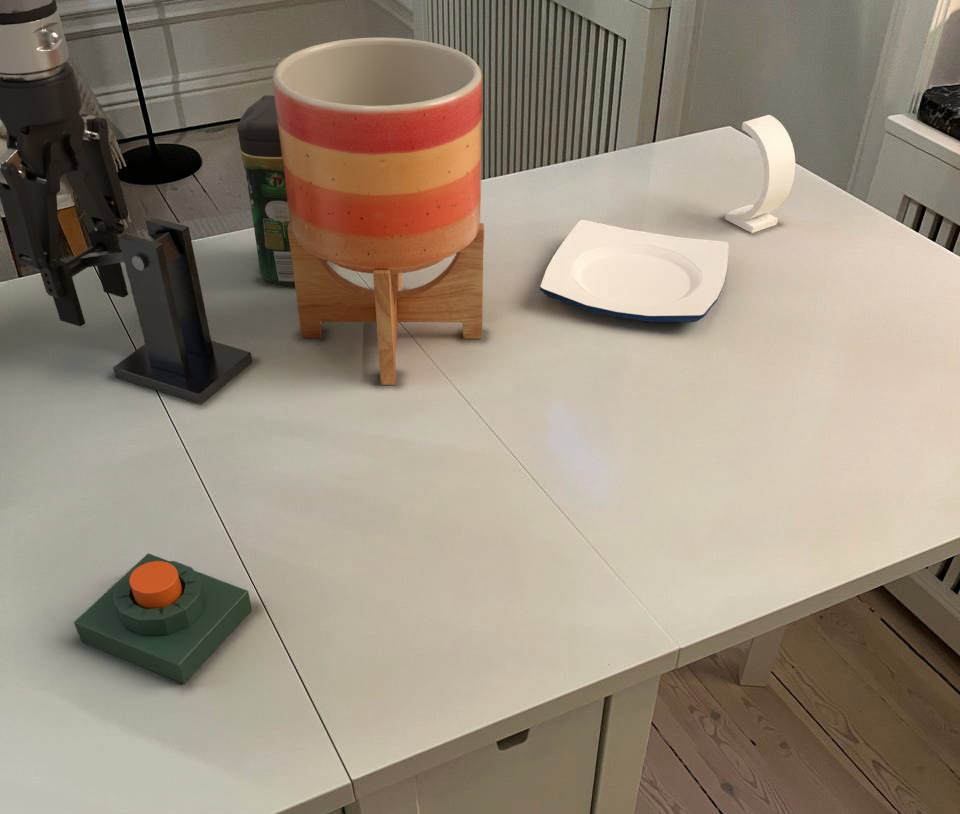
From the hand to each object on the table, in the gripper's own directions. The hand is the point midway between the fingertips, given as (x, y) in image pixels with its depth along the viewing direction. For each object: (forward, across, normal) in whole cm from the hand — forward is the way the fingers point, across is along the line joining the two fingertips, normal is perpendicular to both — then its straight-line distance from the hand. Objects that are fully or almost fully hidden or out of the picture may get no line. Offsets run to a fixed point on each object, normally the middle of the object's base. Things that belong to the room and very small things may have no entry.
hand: (94, 307), depth 107 cm
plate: (+4, +39, -47) cm, 61 cm away
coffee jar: (+5, +24, -9) cm, 26 cm away
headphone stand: (+4, +62, -54) cm, 83 cm away
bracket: (+4, 0, -11) cm, 11 cm away
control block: (+4, -31, -33) cm, 45 cm away
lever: (-6, 0, -6) cm, 8 cm away
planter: (+4, +16, -27) cm, 31 cm away
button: (+1, -31, -33) cm, 45 cm away
